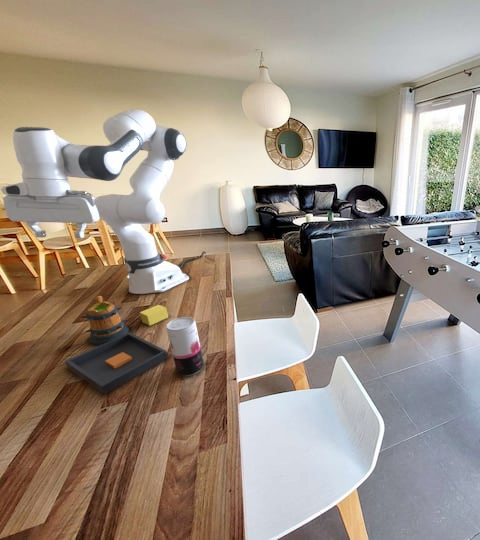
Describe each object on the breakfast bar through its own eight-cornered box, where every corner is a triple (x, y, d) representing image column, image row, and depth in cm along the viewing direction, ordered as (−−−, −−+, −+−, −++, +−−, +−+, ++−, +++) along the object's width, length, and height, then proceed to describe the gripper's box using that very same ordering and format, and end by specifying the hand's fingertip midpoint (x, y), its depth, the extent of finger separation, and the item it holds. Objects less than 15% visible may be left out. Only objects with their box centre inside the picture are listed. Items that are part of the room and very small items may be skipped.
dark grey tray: (131, 338, 91) (129, 332, 90) (168, 357, 84) (166, 350, 83) (67, 368, 78) (64, 361, 77) (104, 394, 71) (101, 386, 70)
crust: (123, 354, 83) (122, 351, 83) (132, 359, 82) (131, 356, 81) (105, 363, 80) (104, 360, 79) (114, 369, 78) (113, 366, 77)
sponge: (161, 314, 105) (158, 304, 103) (168, 317, 103) (166, 307, 102) (142, 322, 100) (139, 312, 98) (149, 325, 98) (147, 315, 96)
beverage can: (207, 369, 80) (198, 323, 74) (181, 381, 76) (169, 333, 70) (199, 357, 84) (190, 313, 79) (174, 368, 80) (162, 322, 74)
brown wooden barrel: (132, 336, 92) (123, 305, 88) (90, 349, 85) (77, 316, 81) (126, 319, 100) (117, 290, 96) (87, 330, 94) (75, 299, 89)
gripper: (99, 190, 86) (108, 235, 90) (14, 186, 81) (27, 234, 86) (85, 191, 80) (95, 240, 85) (-8, 187, 76) (8, 238, 80)
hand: (60, 237), depth 85 cm, fingers open, 8 cm apart
